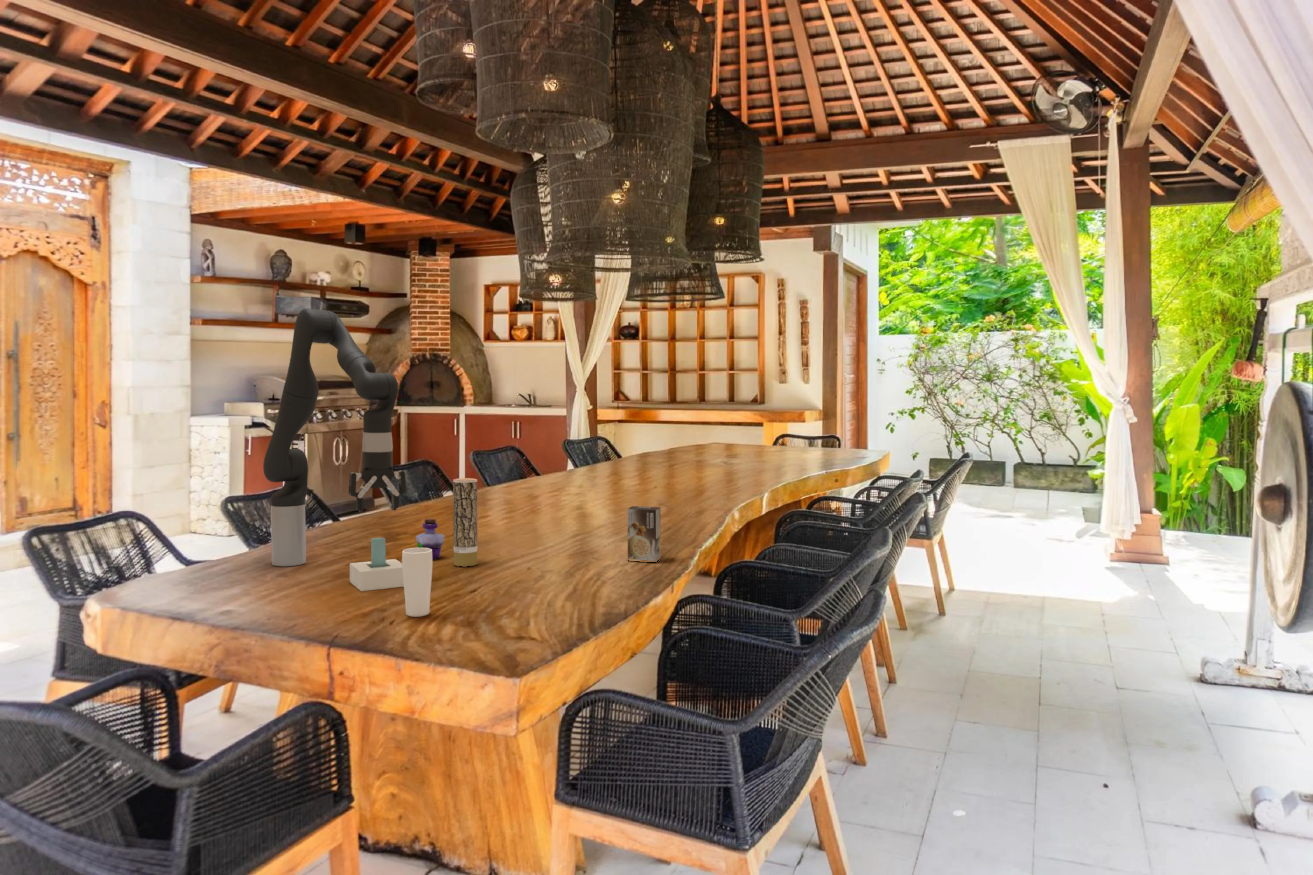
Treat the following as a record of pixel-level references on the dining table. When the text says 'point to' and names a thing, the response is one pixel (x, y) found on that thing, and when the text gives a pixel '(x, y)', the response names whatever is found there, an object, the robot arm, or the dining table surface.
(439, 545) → the potion bottle
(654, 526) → the coffee box
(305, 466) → the robot arm
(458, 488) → the paper tube
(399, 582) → the socket block
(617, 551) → the dining table surface
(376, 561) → the peg
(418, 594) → the drinking glass
